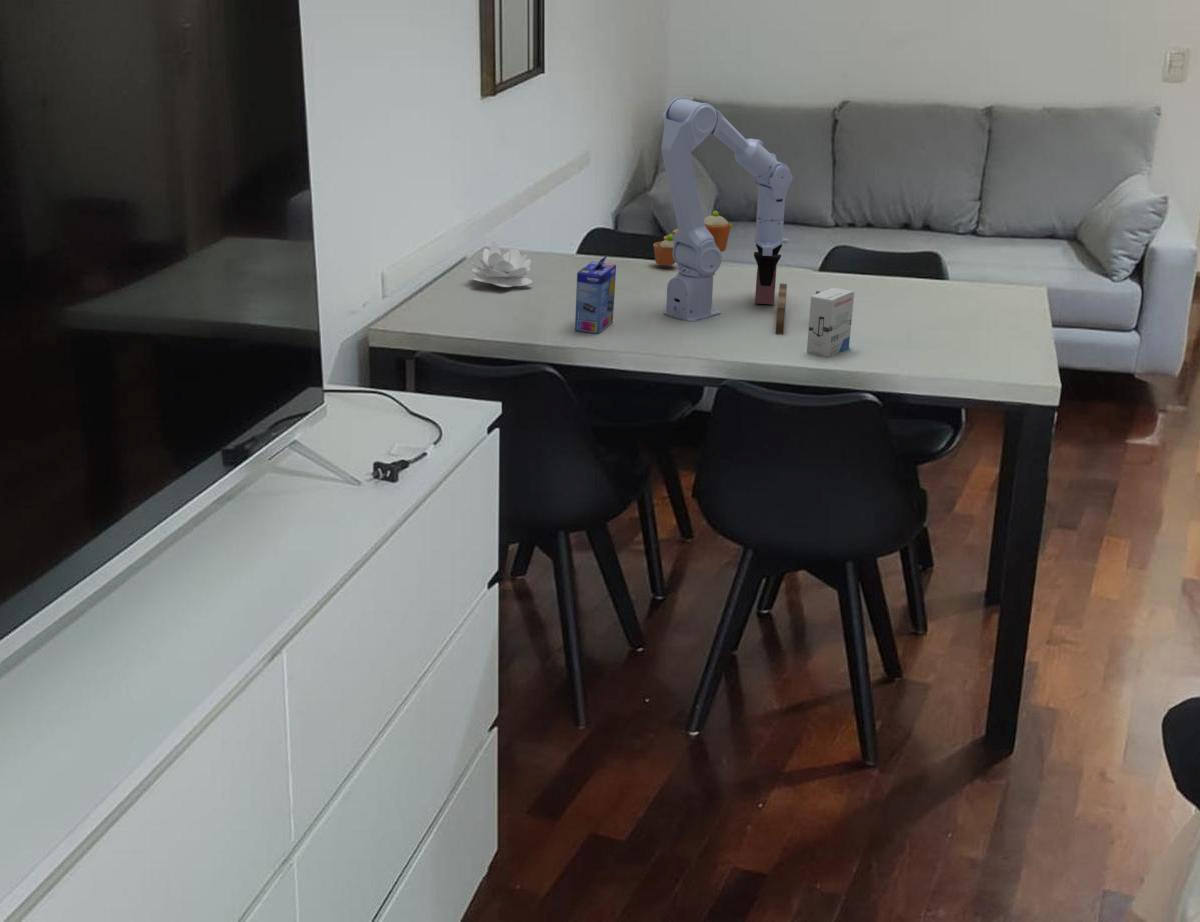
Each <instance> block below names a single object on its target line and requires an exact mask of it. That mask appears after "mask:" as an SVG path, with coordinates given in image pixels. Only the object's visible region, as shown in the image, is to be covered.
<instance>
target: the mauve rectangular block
mask: <svg viewBox="0 0 1200 922" xmlns="http://www.w3.org/2000/svg"><path fill="white" fill-rule="evenodd" d="M777 267H778V266H777V265H776V268H775V271H774V275H773V280H772V283H771V286H761V284H760V278H759V269H758V267H757V269H756V279H755V281H756V283H755V294H754V295H755V298H754V304H759V305H775V296H776V284H777V283H776V280H777Z"/></svg>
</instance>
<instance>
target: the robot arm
mask: <svg viewBox="0 0 1200 922" xmlns="http://www.w3.org/2000/svg"><path fill="white" fill-rule="evenodd" d="M661 117H662V121H663V126H664V127H663V133H662V141H661V148H660V149H661V156H662V160H663V166H664V170H665V175H666V179H667V184H668V187H669V188H668V189H669V192H670V197H671V201H672V206H673V211H674V216H675V219H676V225H677V229H678V231H677V232H676V233H675V234H674V235H673V240H674V247H673V258H674V261H675V263H676V264H677V270H678V273H677V274H676V275H675V276H674V277H672V278H671V279H669V281H668V283H667V287H666V289H667V290H666V304H665V305H666V310H664V311H662V313H663V315H665V314H666V315H665V316H668V315H670V316H669V317H672V316H673V317H672V318H675V317H676V318H675V319H678V318H679V319H678V320H681V319H682V320H681V321H686V322H688V321H689V322H690V323H691V322H692V321H693V322H696V321H700V320H703V319H707V318H711V317H715V316H718V315H720V314H721V311H719V310H716V309H713V308H712V307H713V292H714V291H713V290H714V288H713V287H714V276H715V275H716V272H717V271H718V269H719V268H720V267H721V265H722V260H723V256H722V252H721V251H720V250H719V248H718V247H717V246H716V244H715V241H714V237H713V236H712V234H711V233H710V232H709V231H708V229H707V228H706V227H705V223H704V219H705V218H704V214H703V210H702V209H703V208H702V205H701V199H700V194H699V191H698V184H697V182H696V181H697V180H696V176H695V171H694V167H693V166H694V165H693V161H692V156H691V154H692V153H693V151H694V150H695V149H696V148H697V147H698V146H699V145H701V143H702V142H703V141H704V140H705V139H706V138H707V137H708V136H709V135H712V136H714V137H715V138H717V139H718V140H719V141H721V142H722V143H723V144H724V145H726V146H727V148H729V149H730V150H732V151H733V152H734V160H735V162H736V163H738V164H739V166H740V167H743V168H744V169H745V171H747V172H748V173H749V174H750V175H751V176H752V180H753V182H754V183H755V184H757V185H758V188H757V202H756V203H757V206H756V223H755V225H756V226H755V236H754V238H753V239H754V243H755V246H756V249H757V251H754V253H753V258H754V259H755V262H756V266H757V268H758V269H759V278H760V284H761V286H771V283H772V280H773V275H774V271H775V268H776V266H777V265H778V262H779V261H780V260H781V258H782V254H779V253H780V252H781V251H780V250H781V248H782V247H783V244H788V243H789V239H788V238H786V237H783V236H784V222H785V208H786V206H785V205H786V197H787V195H788V190H789V187H790V186H791V184H792V182H793V178H794V175H793V174H792V172H791V169H790V167H789V165H788V164H786V163H784V162H781V161H778V159H777V155H776V154H774V153H773V152H771V153H770V152H769V151H768V150H767V149H766V148H765V147H764V146H763V145H764V142H763V141H762V140H760V139H754V138H745V137H744V136H743V134H742V133H741V132H739V131H738V129H736V128H735V127H734V126H733V125H732V123H731V122H730V121H729V120H727V118H726V117H724V115H723V114H722V112H721V111H720V110H718V109H716V108H715V107H714V106H713V105H712V104H710V103H706V102H705V103H703V102H698V101H695V100H691V99H688V98H686V97H681V96H679V97H676V98H674V99H672V100H671V101H670V103H669V104H668V106H667V107H666V109H665V110H664V112H663V114H662V116H661ZM776 269H777V268H776ZM693 322H692V323H693Z"/></svg>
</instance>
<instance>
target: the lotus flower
mask: <svg viewBox="0 0 1200 922" xmlns="http://www.w3.org/2000/svg"><path fill="white" fill-rule="evenodd" d="M512 246H513V245H512V243H510V247H509V251H507V252H506V253H505V254H503V255H502V252H501V249H500V246H499V245H498V244H497V243H496V242H494V241H493V242H492V243H491V245H490V247H489V249H488V248H484V250H483V252H482V257H480V256H479V255H478V254H477V253H476V254H475V256H476V258H477V259H478V260H479V262H480V263H481V265H482V266H483V267H481V266H479V265H478V264H476V263H474V262H472V261H470V262H469V263H470V264H471V265H472V266H474V267H475V268H472V269H471V270H472V273H474V275H476V277H474V278H473V281H476V282H481V283H486V284H492V285H494V286H497V287H500V288H501V287H502V288H513V287H524V286H528V285H531V284H533V281H532V279H530V278H528V277H524V276H526V275H528V274H529V273H530V272H531V264H532V258H531V259H527V257H528V253H525V254H524V255H521V252H520V251H519V249H518V248H517V247H515V248H512Z"/></svg>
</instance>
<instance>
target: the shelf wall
mask: <svg viewBox="0 0 1200 922" xmlns="http://www.w3.org/2000/svg"><path fill="white" fill-rule="evenodd" d="M787 289H788V284H787V283H782V282H781V283H779V289H778V297H777V298H778V299H777V309H776V323H775V335H784V329H785V317H786V315H785V314H786V305H787V303H786V302H787V291H788V290H787Z"/></svg>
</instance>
